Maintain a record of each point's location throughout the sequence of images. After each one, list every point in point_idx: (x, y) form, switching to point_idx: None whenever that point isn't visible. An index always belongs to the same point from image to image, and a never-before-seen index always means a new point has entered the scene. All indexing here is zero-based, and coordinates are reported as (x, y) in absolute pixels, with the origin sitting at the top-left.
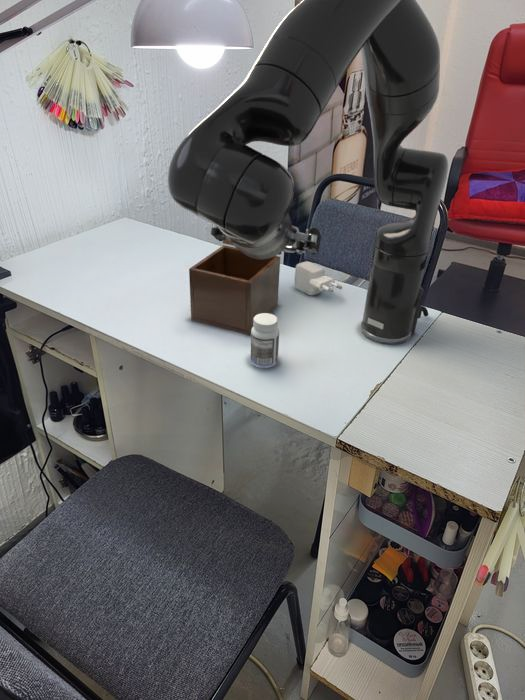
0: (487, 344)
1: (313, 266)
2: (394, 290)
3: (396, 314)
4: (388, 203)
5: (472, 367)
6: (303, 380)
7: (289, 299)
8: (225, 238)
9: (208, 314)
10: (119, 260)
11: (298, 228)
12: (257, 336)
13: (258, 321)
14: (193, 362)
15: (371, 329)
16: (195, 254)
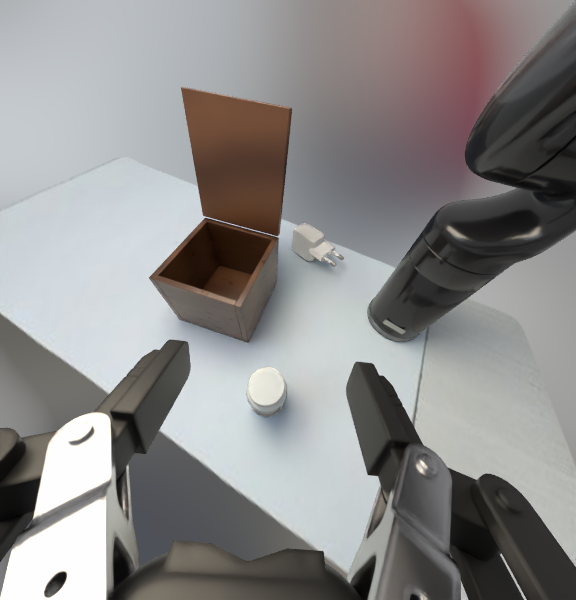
0: (493, 328)
1: (312, 232)
2: (439, 307)
3: (425, 324)
4: (504, 179)
5: (495, 375)
6: (319, 437)
7: (288, 269)
8: (205, 210)
9: (196, 319)
10: (108, 217)
11: (457, 565)
12: (256, 409)
13: (255, 396)
14: (176, 416)
15: (385, 328)
16: (191, 204)
